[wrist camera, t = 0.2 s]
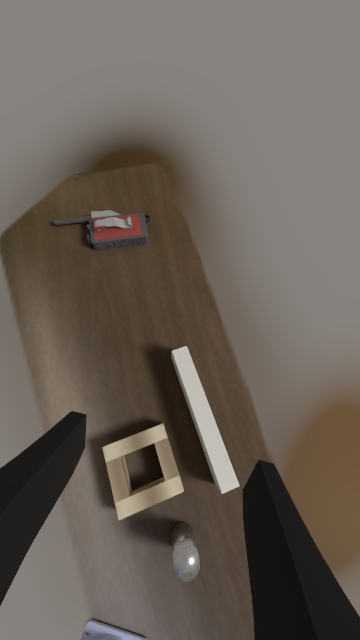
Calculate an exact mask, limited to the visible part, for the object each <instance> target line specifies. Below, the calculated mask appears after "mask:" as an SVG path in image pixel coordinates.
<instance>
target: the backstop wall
mask: <svg viewBox="0 0 360 640" xmlns="http://www.w3.org/2000/svg"><path fill="white" fill-rule="evenodd" d="M171 359H172V362H173V365H174V367H175V370H176V373H177V376H178V379H179V382H180V385H181V388H182V390H183V393H184V396H185V399H186V402H187V405H188V408H189V410H190V413H191V416H192V419H193V422H194V425H195V428H196V431H197V433H198V436H199V439H200V442H201V445H202V448H203V451H204V453H205V456H206V459H207V462H208V465H209V468H210V471H211V474H212V476H213V479H214V482H215V484H216V486H217V487H218V489H219V490H220V492H221V493H222V494H223V493H226V492H228V491H230V490H232V489H234V488H237V487H239V483H238V480H237V478H236V475H235V473H234V470H233V467H232V465H231V462H230V459H229V457H228V454H227V451H226V449H225V446H224V443H223V441H222V438H221V435H220V433H219V430H218V427H217V425H216V422H215V420H214V417H213V414H212V412H211V409H210V406H209V404H208V401H207V398H206V396H205V393H204V390H203V388H202V385H201V382H200V380H199V377H198V374H197V372H196V369H195V366H194V364H193V361H192V359H191V356H190V353H189V351H188V348H187V346H185V347H182V348H179V349H176V350H173V351H172V354H171Z"/></svg>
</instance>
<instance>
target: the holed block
mask: <svg viewBox="0 0 360 640" xmlns="http://www.w3.org/2000/svg"><path fill="white" fill-rule="evenodd" d="M153 443H154V444H155V448H156V451H157V455H158V458H159V461H160V465H161V468H162V472H163V475H164V477H162V478H160V479H158V480H155V481H153V482H151V483H148V484H146V485H144V486H141V487H139V488H137V489H134V490H132V486H131V482H130V478H129V474H128V470H127V466H126V462H125V458H124V455H126V454H128V453H131V452H133V451H136V450H138V449H141V448H143V447H146V446H148V445H151V444H153ZM102 448H103V452H104V457H105V461H106V466H107V470H108V475H109V479H110V484H111V488H112V493H113V497H114V501H115V506H116V510H117V515H118V519H119V520H121V519H123V518H126V517H128V516H130V515H132V514H135V513H137V512H139V511H141V510H144V509H146V508H148V507H150V506H153V505H155V504H157V503H159V502H162V501H164V500H166V499H168V498H171V497H173V496H175V495H177V494H180V493H182V492H184V489H183V485H182V482H181V479H180V475H179V472H178V469H177V466H176V462H175V459H174V456H173V453H172V450H171V446H170V443H169V440H168V437H167V433H166V430H165V427H164V424H163V423H162V424H159V425H157V426H154V427H152V428H149V429H147V430H144V431H141V432H139V433H136V434H134V435H131V436H128V437H126V438H123V439H121V440H118V441H116V442H113V443H110V444H108V445H106V446H104V447H102Z"/></svg>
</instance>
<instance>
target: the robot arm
mask: <svg viewBox="0 0 360 640" xmlns="http://www.w3.org/2000/svg"><path fill="white" fill-rule="evenodd" d="M85 436H86V414H82V413H78V412H74V411H72V412H70V413H69V414H67V415H66V416H65V417H64V418H63V419H62V420H61V421H59V422H58V423H57V424H56V425H55V426H54V427H52V428H51V429H50V430H49V431H48V432H46V433H45V434H44V435H43V436H42V437H40V438H39V439H38V440H37V441H35V442H34V443H33V444H32V445H30V446H29V447H28V448H27V449H25V450H24V451H23V452H22V453H20V454H19V455H18V456H17V457H15V458H14V459H12V460H11V461H10V462H8V463H7V464H6V465H5V466H3V467H2V468H0V605H1V603H2V601H3V599H4V597H5V595H6V593H7V591H8V589H9V587H10V585H11V583H12V581H13V579H14V577H15V575H16V573H17V571H18V569H19V567H20V565H21V563H22V561H23V559H24V557H25V555H26V553H27V552H28V550H29V548H30V546H31V544H32V542H33V541H34V539H35V537H36V535H37V534H38V532H39V530H40V529H41V527H42V525H43V524H44V522H45V520H46V518H47V516H48V515H49V513H50V512H51V510H52V508H53V507H54V505H55V503H56V502H57V500H58V498H59V497H60V495H61V493H62V491H63V490H64V488H65V486H66V485H67V483H68V481H69V479H70V478H71V476H72V474H73V472H74V470H75V468H76V466H77V464H78V462H79V460H80V457H81V455H82V453H83V451H84V449H85ZM243 522H244V532H245V541H246V550H247V559H248V567H249V576H250V585H251V594H252V603H253V615H254V633H255V640H360V617H359V615H358V614H357V612H356V611H355V609H354V607H353V606H352V604H351V603H350V601H349V600H348V598H347V596H346V595H345V593H344V592H343V590H342V588H341V587H340V585H339V583H338V582H337V580H336V578H335V577H334V575H333V573H332V572H331V570H330V568H329V567H328V565H327V563H326V561H325V560H324V558H323V556H322V555H321V553H320V551H319V549H318V548H317V546H316V544H315V542H314V540H313V538H312V537H311V535H310V533H309V531H308V529H307V527H306V525H305V524H304V522H303V520H302V518H301V516H300V514H299V512H298V510H297V509H296V507H295V505H294V503H293V501H292V499H291V497H290V495H289V493H288V491H287V489H286V487H285V485H284V483H283V481H282V479H281V477H280V475H279V473H278V471H277V469H276V467H275V465H274V464H273V463H269V462H265V461H261V460H258V462H257V464H256V466H255V468H254V470H253V472H252V474H251V475H250V477H249V479H248V481H247V483H246V485H245V487H244V489H243ZM86 630H89V631H90V633H87V632H86ZM81 640H148V639H147V638H145V637H142V636H139V635H136V634H133V633H130V632H127V631H124V630H121V629H118V628H115V627H112V626H109V625H107V624H104V623H101V622H98V621H95V620H92V619H90V620H88V621H87V623H86V625H85V629H84V632H83V635H82V639H81Z"/></svg>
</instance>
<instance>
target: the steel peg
mask: <svg viewBox="0 0 360 640" xmlns="http://www.w3.org/2000/svg"><path fill="white" fill-rule="evenodd" d="M172 551H173V569H174V572H175V574H176V576H177V577H178V578H179V579H180V580H182V581H186V582H187V581H191V580H192V579H194V578H195V577H196V575H197V574H198V571H199V568H200V560H199V556H198V551H197V547H196V542H195V538H194V534H193V530H192V527H191V526H190V525H189V524H188V523H186V522H179V523H177V524H176V525H175V526H174V528H173V531H172Z"/></svg>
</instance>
